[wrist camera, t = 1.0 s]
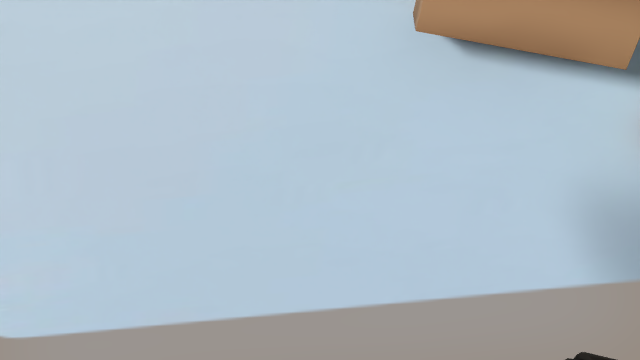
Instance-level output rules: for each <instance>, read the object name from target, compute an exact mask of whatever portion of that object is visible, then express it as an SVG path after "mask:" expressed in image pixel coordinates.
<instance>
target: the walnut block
mask: <svg viewBox="0 0 640 360" xmlns="http://www.w3.org/2000/svg"><path fill="white" fill-rule="evenodd" d="M413 17H414V23H415V29H416V31H419V32H424V33H429V34H435V35H440V36H446V37H451V38H457V39H462V40H467V41H473V42H478V43H484V44H489V45H495V46H500V47H505V48H511V49H516V50H522V51H527V52H533V53H538V54H543V55H549V56H554V57H560V58H565V59H571V60H576V61H582V62H587V63H592V64H598V65H603V66H609V67H614V68H620V69H625V70H626V69H627V66H628V64H629V62H630V59H631V57H632V55H633V52H634V50H635V48H636V45H637V43H638V40H639V38H640V0H416V3H415V7H414V11H413Z"/></svg>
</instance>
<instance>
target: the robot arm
mask: <svg viewBox="0 0 640 360" xmlns="http://www.w3.org/2000/svg"><path fill="white" fill-rule="evenodd" d="M566 360H616V359H611V358H607V357H603V356H598V355H594V354H590V353H586V352H581V353H579V354H577V355H576V357H575V358H574V359H569V358H567V359H566Z"/></svg>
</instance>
